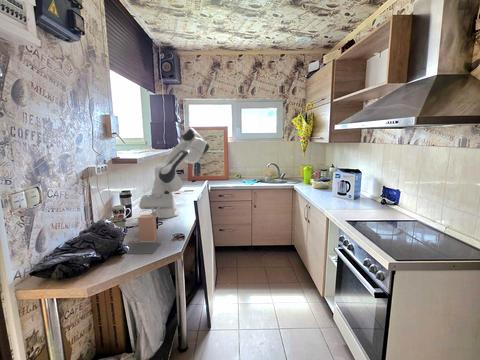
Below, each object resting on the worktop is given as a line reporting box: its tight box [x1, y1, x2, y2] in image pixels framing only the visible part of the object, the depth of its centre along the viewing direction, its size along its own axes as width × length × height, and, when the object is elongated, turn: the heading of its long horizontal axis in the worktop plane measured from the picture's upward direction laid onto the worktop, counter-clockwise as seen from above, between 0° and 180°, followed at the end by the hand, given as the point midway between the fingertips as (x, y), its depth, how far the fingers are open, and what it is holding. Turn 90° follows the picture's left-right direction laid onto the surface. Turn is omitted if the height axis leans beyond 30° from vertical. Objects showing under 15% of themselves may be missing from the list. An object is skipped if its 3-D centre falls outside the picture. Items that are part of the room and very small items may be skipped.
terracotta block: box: [137, 214, 158, 243], centre depth 145 cm, size 5×8×14 cm, turn 88°
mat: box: [124, 242, 163, 255], centre depth 136 cm, size 14×18×1 cm
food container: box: [107, 217, 127, 229], centre depth 153 cm, size 12×6×10 cm, turn 141°
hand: (154, 214), depth 152 cm, fingers closed
